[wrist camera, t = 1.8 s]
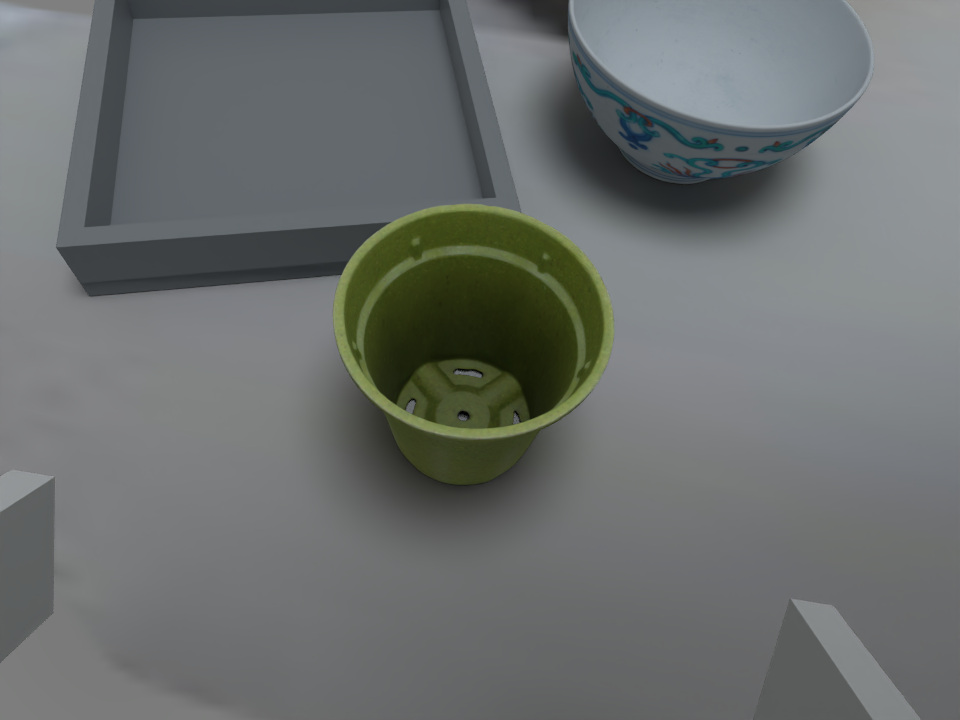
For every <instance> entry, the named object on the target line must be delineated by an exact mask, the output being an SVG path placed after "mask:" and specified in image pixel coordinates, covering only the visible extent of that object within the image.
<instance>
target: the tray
mask: <svg viewBox="0 0 960 720" xmlns="http://www.w3.org/2000/svg"><path fill="white" fill-rule="evenodd" d="M457 204H482V205H486V206H496V207H501V208H506V209H510V210H514V211H517V212H520V213H521V209H520V205H519V201H518V197H517V194H516V190H515V186H514V182H513V178H512V175H511V171H510V167H509V163H508V159H507V156H506V152H505V148H504V144H503V140H502V136H501V133H500V129H499V125H498V121H497V117H496V114H495V110H494V106H493V102H492V98H491V95H490V91H489V87H488V83H487V79H486V76H485V72H484V68H483V64H482V60H481V57H480V53H479V49H478V45H477V41H476V38H475V34H474V30H473V26H472V22H471V19H470V15H469V11H468V7H467V3H466V0H95V4H94V11H93V16H92V23H91V29H90V35H89V42H88V48H87V54H86V61H85V67H84V73H83V80H82V86H81V92H80V99H79V105H78V112H77V118H76V124H75V131H74V137H73V143H72V150H71V156H70V162H69V169H68V175H67V181H66V188H65V194H64V200H63V207H62V213H61V219H60V226H59V232H58V238H57V245H56V248H57V250H58V251H59V252H60V254H61V255H62V257H63V258H64V260H65V261H66V263H67V264H68V266H69V267H70V269H71V270H72V272H73V273H74V274H75V276H76V277H77V279H78V280H79V282H80V283H81V285H82V286H83V288H84V289H85V291H86V292H87V294H88V295H89V296H96V295H108V294H120V293H131V292H143V291H154V290H166V289H178V288H189V287H201V286H212V285H224V284H235V283H247V282H259V281H270V280H282V279H293V278H305V277H317V276H328V275H340V274H342V273H343V271H344V269H345V267H346V265H347V263H348V262H349V260H350V259H351V257H352V256H353V255H354V253H355V252H356V251H357V250H358V248H359V247H360V246H361V245H362V244H363V243H364V242H365V241H366V240H367V239H368V238H370V237H371V236H372V235H373V234H375V233H376V232H377V231H379V230H380V229H382V228H383V227H385V226H386V225H388V224H389V223H391V222H393V221H395V220H397V219H399V218H401V217H404V216H406V215H409V214H412V213H415V212H417V211H420V210H423V209H427V208H431V207H436V206H443V205H457Z"/></svg>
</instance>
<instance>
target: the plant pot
mask: <svg viewBox="0 0 960 720" xmlns="http://www.w3.org/2000/svg"><path fill="white" fill-rule="evenodd" d="M333 326H334V333H335V339H336V343H337V347H338V350H339V353H340V356H341V359H342V361H343V363H344V365H345V367H346V369H347V371H348V373H349V375H350V377H351V378H352V380H353V381H354V382H355V384H356V385H357V387H358V388H359V389H360V390H361V392H362V393H363V394H364V395H365V396H366V397H367V398H368V399H369V400H370V401H371V402H372V403H373V404H374V405H376V406H377V407H378V408H379V409H380V410H382V411H383V412H384V413H385V416H386V418H387V421H388V423H389V426H390V428H391V431H392V433H393V436H394V438H395V440H396V443H397V445H398V447H399V449H400V450H401V452H402V453H403V454H404V456H405V457H406V458H407V459H408V460H409V461H410V462H411V463H412V464H413V465H414V466H415V467H416V468H417V469H418V470H419V471H420V472H422V473H423V474H425V475H426V476H429V477H431V478H433V479H435V480H438V481H441V482H444V483H449V484H456V485H472V484H479V483H483V482H487V481H490V480H492V479H494V478H496V477H497V476H499V475H501V474H502V473H504V472H505V471H507V470H508V469H510V468H511V467H512V466H513V465H514V464H515V463H516V462H517V461H518V460H519V459H520V458H521V457H522V455H523V454H524V453H525V451H526V450H527V448H528V447H529V446H530V444H531V443H532V441H533V440H534V438H535V437H536V435H537V434H538V433H539V431H540V430H541V429H543V428H545V427H548V426H549V425H551V424H553V423H555V422H557V421H558V420H560V419H561V418H563V417H564V416H566V415H568V414H569V413H570V412H572V411H573V410H574V409H575V408H576V407H577V406H579V405H580V404H581V403H582V402H583V401H584V400H585V398H586V397H587V396H588V395H589V394H590V393H591V391H592V390H593V389H594V387H595V386H596V384H597V383H598V381H599V380H600V378H601V376H602V374H603V372H604V370H605V368H606V366H607V363H608V361H609V358H610V354H611V350H612V345H613V341H614V318H613V309H612V305H611V300H610V297H609V294H608V292H607V289H606V287H605V285H604V283H603V281H602V279H601V277H600V275H599V273H598V271H597V270H596V268H595V266H594V265H593V264H592V262H591V261H590V260H589V259H588V258H587V256H586V255H585V254H584V253H583V252H582V251H581V250H580V249H579V248H578V247H577V246H576V245H575V244H574V243H573V242H572V241H571V240H570V239H569V238H567V237H566V236H565V235H563V234H561V233H560V232H559V231H557V230H555V229H554V228H552V227H550V226H548V225H546V224H544V223H542V222H540V221H538V220H536V219H535V218H533V217H530V216H527V215H525V214H523V213H520V212H517V211H514V210H510V209H506V208H501V207H496V206H486V205H482V204H457V205H443V206H436V207H431V208H427V209H423V210H420V211H417V212H415V213H412V214H409V215H406V216H404V217H401V218H399V219H397V220H395V221H393V222H391V223H389V224H388V225H386V226H385V227H383V228H382V229H380V230H379V231H377V232H376V233H375V234H373V235H372V236H371V237H370V238H368V239H367V240H366V241H365V242H364V243H363V244H362V245H361V246H360V247H359V248H358V250H357V251H356V252H355V253H354V255H353V256H352V257H351V259H350V260H349V262H348V263H347V265H346V267H345V269H344V271H343V273H342V275H341V277H340V280H339V283H338V286H337V289H336V293H335V298H334V304H333ZM455 369H474V370H478V371H480V372H482V373H483V377H481V378H477V377H473V376H469V375H460V374H459V375H455V374H454V373H453V372H454V371H455ZM411 399H415V400H416V404H415V408H414V410H413V414H411V413H409V412H407V411H405V410H406V406H407V404H408V402H409V401H410V400H411ZM460 411H466V412H468V414H469V415H470V417H469V419H468V420H466V421H462V420H460V419H458V413H459V412H460ZM514 411H516V412H517V413H518V414H519V417H520V421H521V423H519V424H515V425H513V416H514V413H513V412H514Z"/></svg>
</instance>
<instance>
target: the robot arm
mask: <svg viewBox="0 0 960 720" xmlns="http://www.w3.org/2000/svg"><path fill="white" fill-rule="evenodd" d="M54 509H55V477H53V476H47V475H41V474H35V473H29V472H23V471H17V470H10V471H9V472H7V473H5V474H3V475H2V476H0V663H1V661H3V660H4V659H5V658H6V657H7V656H8V655H9V654H10V653H11V652H12V651H13V650H14V649H15V648H16V647H18V646H19V645H20V644H21V643H22V642H23V641H24V640H25V639H26V638H27V637H28V636H29V635H30V634H31V633H32V632H33V631H34V630H36V629H37V628H38V627H39V626H40V625H41V624H42V623H43V622H44V621H45V620H46V619H47V618H48V617H49V616H50V615H52V614H53V599H54ZM753 720H921V719H920V718H919V716H918V715H917V714H916V712H915V711H914V710H913V709H912V707H911V706H910V705H909V703H908V702H907V701H906V699H905V698H904V697H903V696H902V694H901V693H900V692H899V690H898V689H897V688H896V686H895V685H894V684H893V683H892V681H891V680H890V679H889V677H888V676H887V675H886V673H885V672H884V671H883V670H882V668H881V667H880V666H879V664H878V663H877V662H876V660H875V659H874V658H873V657H872V655H871V654H870V653H869V651H868V650H867V649H866V648H865V646H864V645H863V644H862V642H861V641H860V640H859V638H858V637H857V636H856V635H855V633H854V632H853V631H852V629H851V628H850V627H849V625H848V624H847V623H846V622H845V620H844V619H843V618H842V616H841V615H840V614H839V612H838V611H837V610H836V609H835V607H834V606H833V605H827V604H821V603H815V602H809V601H803V600H797V599H791V598H790V601H789V604H788V608H787V611H786V614H785V617H784V621H783V624H782V627H781V630H780V634H779V637H778V640H777V643H776V647H775V650H774V653H773V656H772V660H771V663H770V666H769V669H768V673H767V676H766V679H765V683H764V686H763V689H762V692H761V696H760V699H759V702H758V705H757V709H756V712H755V715H754V718H753Z"/></svg>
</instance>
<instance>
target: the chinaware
mask: <svg viewBox="0 0 960 720" xmlns="http://www.w3.org/2000/svg"><path fill="white" fill-rule="evenodd" d="M568 33H569V46H570V53H571V60H572V65H573V70H574V74H575V77H576V81H577V84H578V87H579V90H580V92H581V95H582V97H583V99H584V102H585V104H586V106H587V108H588V109H589V111H590V113H591V115H592V116H593V118H594V119H595V121H596V122H597V124H598V125H599V126H600V128H601V129H602V130H603V131H604V132H605V134H606V135H607V136H608V137H609V138H610V139H611V140H612V141H613V142H614V143H615V144H616V145H617V146H618V148H619V150H620V151H621V153H622V154H623V156H624V157H625V158H626V159H627V160H628V161H629V162H630V163H631V164H632V165H633V166H634V167H635V168H637V169H638V170H640V171H641V172H643V173H645V174H647V175H649V176H651V177H653V178H656V179H658V180H662V181H665V182H670V183H677V184H693V183H699V182H703V181H706V180H709V179H717V178H728V177H734V176H739V175H744V174H748V173H752V172H755V171H758V170H761V169H764V168H767V167H769V166H772V165H774V164H776V163H778V162H780V161H783V160H784V159H786V158H788V157H790V156H792V155H794V154H795V153H797V152H799V151H800V150H802V149H803V148H805V147H806V146H808V145H809V144H811V143H812V142H813V141H815V140H816V139H817V138H819V137H820V136H821V135H822V134H824V133H825V132H826V131H827V130H828V129H830V128H831V127H832V126H833V125H834V124H835V123H836V122H837V121H838V120H839V119H841V118H842V117H843V116H844V115H845V114H846V113H847V112H848V111H849V110H850V109H851V108H852V106H853V105H854V104H855V103H856V102H857V101H858V100H859V99H860V97H861V96H862V95H863V93H864V92H865V90H866V89H867V87H868V85H869V83H870V80H871V78H872V75H873V70H874V50H873V45H872V41H871V38H870V36H869V33H868V31H867V29H866V27H865V25H864V23H863V22H862V20H861V19H860V17H859V16H858V14H857V13H856V12H855V10H854V9H853V8H852V7H851V6H850V4H849V3H848V2H847V1H846V0H569V6H568Z"/></svg>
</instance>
